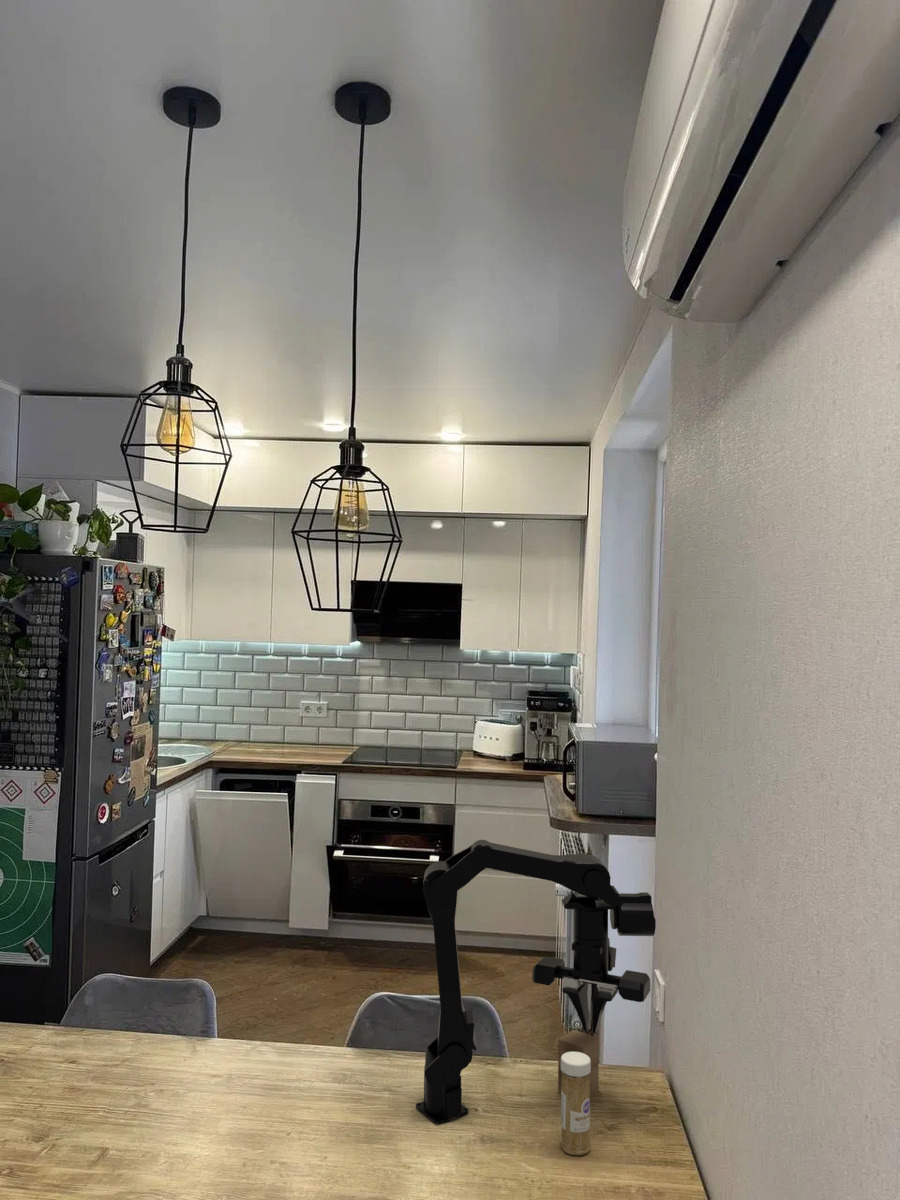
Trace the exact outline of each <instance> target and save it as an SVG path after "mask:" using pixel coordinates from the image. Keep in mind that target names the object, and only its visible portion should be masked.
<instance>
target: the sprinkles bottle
mask: <svg viewBox="0 0 900 1200" xmlns="http://www.w3.org/2000/svg"><path fill="white" fill-rule="evenodd" d="M590 1071H591V1060H590V1058H589V1057H588V1056H587V1055H586V1054H584V1053H581V1052H567V1053H564V1054H563V1055H562V1056H561V1072H562V1089H561V1094H560V1097H561V1098H560V1103H561V1104H560V1106H561V1108H560V1110H561V1111H560V1115H561V1116H560V1120H561V1121H560V1123H561V1124H560V1125H561V1141H560V1147H561V1149H562V1150H563V1151H564V1152H565V1153H567V1155H568V1154H569V1155H572V1156H583V1155H587V1154H588V1153H589V1152H590V1150H591V1142H590V1141H591V1140H590V1139H591V1138H590V1137H591V1136H590V1133H591V1132H590V1128H591V1101H590V1099H591V1098H590V1087H589V1086H590V1083H589V1082H590V1081H589V1080H590V1079H589V1078H590V1076H589V1075H590Z"/></svg>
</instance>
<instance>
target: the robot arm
mask: <svg viewBox="0 0 900 1200" xmlns="http://www.w3.org/2000/svg"><path fill="white" fill-rule="evenodd" d="M486 869H490V870H495V871H501V872H505V873H508V874H509V873H510V874H513V875H518V876H519V875H520V876H526V877H530V878H534V879H539V880H544V881H550V882H553V883H556V884H559V886H562V887H564V888H566V889H568V890H570V891H569V893H568V894H567V895H566V896H565V897H564V898H562V899H561V904H562V906H563V908H564V909H565V910H573V934H572V935H573V940H572V941H573V942H572V943H571V951H573V954H572V955H573V957H572V958H573V967H568V966H566V964H565V963H566V962H565V960H564V959H563V958H557V957H551V956H546V955H545V956H543V957H542V958H541V959H540V960H539V961H538V962H537V963H536V964H535V965H533V968H532V981H531V982H533V983H534V984H539V985H542V986H543V985H544V986H550V985H552V984H553V983H554V981H555V979H561V980H563V988H562V989H561V990H562V991H561V992H562V993H563V994H566V995H567V996H568V998H569V999H570V1002H571V1004H572V1005H573V1007H574V1008H575V1011H576V1013H577V1017H578V1019H579V1021H580V1023H581V1026H582V1028H583V1031H584V1032H585V1033H587V1032H588V1031H589V1025H590V1014H589V1001H588V989H589V985H595V986H597V987H596V988H597V990H596V991H595V993H594V994H593V997H592V1015H591V1016H592V1017H591V1018H592V1019H591V1021H592V1022H591V1028H592V1034H596V1033H597V1031H598V1028H599V1025H600V1022H601V1019H602V1016H603V1013H604V1010H605V1007H606V1005H607V1003H608V1002H612V1001H613V1000H614V998H615V997H616V995H617V994H618V995H620V997H621V999H622V1000H626V1001H632V1002H636V1003H637V1002H638V1003H641V1002H644V1001H645V1000H646V999H647V997H648V995H649V993H650V992H651V977H650V976H649V975H648V974H647V973H645V972H641V971H640V972H639V971H634V970H628V969H626V970H624V971H625V972H623V974H622V975H621V976H620V975H615V974H609V972H612V970H614V968H616V960H617V959H616V958H617V948H616V947H612V946H611V944H610V943H611V942H610V938H609V921H610V926H611V927H610V928H611V930H616V931H617V934H618V936H619V937H621V936H622V937H630V936H631V937H633V936H634V937H654V936H655V933H656V925H657V924H656V922H657V921H656V917H655V913H654V912H655V911H654V907H653V903H652V895H651V894H650V893H649V892H638V893H628V892H627V893H623V892H621V893H619V891H618V890H617V888H616V887H615V886H614V885H611V875H610V872H609V870H608V869H607V867H606V865H605V864H604V863H603V861H602V860H601V859H600V858H599V857H597V856H596V855H593V854H584V853H583V854H581V853H579V854H577V853H571V854H569V853H568V854H561V855H559V854H558V855H557V854H556V855H555V854H554V855H553V854H549V853H544V852H539V851H533V850H530V849H529V850H528V849H524V848H519V847H515V846H508V845H504V844H500V843H495V842H490V841H488V840H487V839H478V840H476V841H474V842H473V843H472V844H471V845H470V846H468V847H466V848H464V849H462V850H461V851H459V852H457V853H455V854H453V855H452V856H450V857H449V858H447V859H445V860H443V861H442V860H439V861H435V862H433V863H431V864H430V865H429V866H427V868H426V869H425V871H424V874H423V883H422V892H423V896H424V900H425V904H426V907H427V911H428V914H429V916H430V919H431V923H432V926H433V938H434V949H435V950H434V951H435V959H436V960H435V961H436V969H437V971H436V972H437V973H436V974H437V983H438V992H439V996H438V997H439V1004H440V1005H439V1006H440V1008H439V1020H438V1031H437V1032H438V1033H437V1036H436V1037H435V1038H434V1039H433V1040H432V1041H431V1042H430V1043H429V1044H428V1045H427V1046H426V1047H425V1057H424V1058H425V1059H424V1068H423V1069H424V1071H423V1100H422V1101H420V1102H417V1103H415V1108H416V1109H417V1110H418V1111H420V1112H421V1113H422V1114H423V1115H424V1116H426V1118H428V1119H429V1120H430V1121H431V1122H433V1123H434V1124H436V1125H440V1124H442V1123H445V1122H448V1121H451V1120H453V1119H456V1118H460V1117H463V1115H467V1114H469V1108H468V1107H466V1106H465V1105H464V1104H462V1100H463V1099H462V1096H463V1095H462V1093H463V1091H462V1090H463V1089H462V1075H461V1073H462V1070H464V1069H465V1068H467V1067H468V1066H469V1064H470V1063H471V1062H472V1060H473V1054H474V1053H473V1052H474V1051H477V1049H478V1048H477V1037H476V1036H477V1035H476V1034H477V1033H476V1029H475V1016H474V1008H473V1009H472V1008H471V1009H468V1010H466V1009H465V1006H464V1003H463V999H462V998H463V997H462V988H461V986H462V985H461V978H460V976H461V975H460V965H459V955H458V954H459V953H458V944H457V932H456V914H457V913H456V912H457V903H458V902H457V900H458V898H457V897H458V891H459V890H461V889H462V888H464V887H465V886H466V885H467V884H469V883H470V882H471V881H472V880H473V879H474V878H475V877H477V875H479V874H480V873H481V872H483V871H484V870H486ZM576 893H577V894H579V895H577V894H576ZM597 898H599V899H600V900H596V899H597ZM473 1050H474V1051H473Z"/></svg>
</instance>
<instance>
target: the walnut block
mask: <svg viewBox="0 0 900 1200" xmlns="http://www.w3.org/2000/svg"><path fill="white" fill-rule="evenodd" d="M557 1041H558V1042H557V1045H558V1047H557V1048H558V1049H557V1051H558V1052H557V1053H558V1054H557V1057H558V1058H557V1060H558V1063H557V1065H558V1066H557V1068H558V1069H557V1070H558V1072H557V1073H558V1075H557V1080H558V1081H557V1083H558V1084H557V1086H558V1087H557V1093H558V1094H559V1095H561V1089H562V1072H561V1056H562V1055H563V1054H564V1053H567V1052H581V1053H584V1054H586V1055H587V1056H588V1057H589V1058H590V1060H591V1071H590V1075H589V1076H590V1078H589V1079H590V1080H589V1081H590V1082H589V1083H590V1086H589V1087H590V1099H591V1098H592V1097H594V1096H595V1095H597V1094H598V1093H599V1092H600V1091H599V1089H600V1088H599V1086H600V1085H599V1082H600V1081H599V1079H600V1078H599V1073H600V1072H599V1069H600V1068H599V1059H600V1058H599V1054H600V1053H599V1050H600V1049H599V1045H600V1044H599V1037H597V1036H594V1035H590V1034H587V1033H586V1032H585V1033H584V1032H582V1031H579V1030H575V1029H573V1030H571V1031H569V1032H567V1033H566V1034H564V1035H563V1036H561V1037H559V1038H558V1039H557Z"/></svg>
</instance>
